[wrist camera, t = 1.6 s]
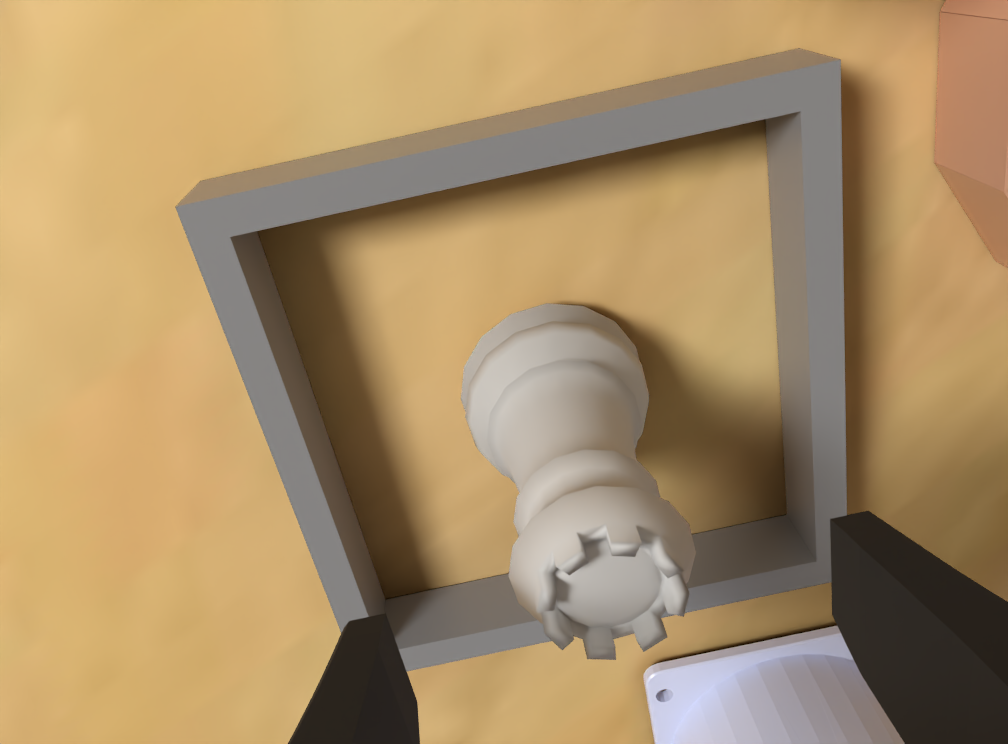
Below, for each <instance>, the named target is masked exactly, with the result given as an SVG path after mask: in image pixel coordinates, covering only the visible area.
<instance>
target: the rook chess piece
mask: <svg viewBox="0 0 1008 744" xmlns="http://www.w3.org/2000/svg"><path fill="white" fill-rule="evenodd" d="M461 401H462V404H463V406H464V409H465V412H466V415H465V417H466V420H467V423H468V426H469V428H470V431H471V434H472V437H473V439H474V442H475V445H476V447H477V448H478V450H479V451H480V452H481V454H482V455H483V456H484V457H485V458H486V459H487V460H488V461H489V462H490V463H491V464H492V465H493V466H494V467H495V468H496V469H497V470H498V471H499V472H500V473H501V474H502V475H504V476H507V477H509V478H510V479H511V480H512V481H513V482H514V483H515V484H516V486H517V488H518V491H519V495H518V497H517V500H516V508H515V515H514V524H515V527H516V530H517V533H518V535H519V537H518V539H517V540H516V542H515V543H514V545H513V547H512V554H511V561H510V569H509V579H510V581H511V584H512V587H513V589H514V592H515V595H516V597H517V600H518V603H519V604H520V605H522V606H523V607H524V608H525V609H526V610H527V611H528V612H529V613H530V614H531V615H532V616H534V617H535V618H536V619H537V620H538V621H539V622H540V623H542V624H543V627H544V633H545V635H546V636H547V637H548V638H550V639H551V640H552V641H553V642H554V643H555V644H556V645H557V646H558V647H559V648H561V649H562V650H563V649H564V648H565V647H566V646H568V645H569V644H570V643H571V642H572V641H573V640H574V638H573V636H575V637H578V638H581V639H583V642H584V646H585V651H586V655H587V659H609V660H616V654H615V644H614V641H613V639H616V638H619V637H623V636H626V635H630V634H634V633H635V636H636V639H637V642H638V643H639V645H640V647H641V648H642V650H643V652H644V651H646V650H647V649H649V648H651V647H652V646H654V645H655V644H657V643H659V642H660V641H662V640H663V639H665V638H667V634H666V631H665V628H664V625H663V622H662V620H661V617H662V615H663V614H664V613H665V612H666V610H667V612H668V614H674V615H679V616H684V614H685V610H686V606H687V602H688V598H689V595H690V593H689V590H688V588H687V585H686V584H687V583H688V581H689V578H690V574H691V570H692V566H693V562H694V558H695V554H696V551H695V547H694V542H693V538H692V534H691V530H690V526H689V524H688V523H687V521H686V520H685V519H684V518H683V517H682V516H681V515H680V514H679V513H678V511H677V510H676V509H675V508H674V507H673V506H672V505H671V504H670V502H669V501H666V500H664V499H662V498H660V495H659V491H658V487H657V483H656V480H655V479H654V478H653V477H652V476H651V474H650V473H649V472H648V471H647V470H646V469H645V468H644V467H643V466H642V464H641V463H640V462H638V461H637V459H636V453H635V448H636V446H637V441H638V440H639V438H640V437H641V435H642V433H643V429H644V424H645V419H646V414H647V409H648V405H649V392H648V388H647V384H646V380H645V375H644V371H643V367H642V364H641V363H640V361H639V356H638V352H637V348H636V346H635V345H634V344H633V343H632V341H631V340H630V339H629V338H628V336H627V335H626V334H625V333H624V332H623V330H622V329H621V328H620V327H619V326H618V324H617V323H616V322H615V321H613V320H611V319H609V318H607V317H605V316H603V315H601V314H599V313H597V312H595V311H593V310H591V309H589V308H587V307H585V306H576V305H562V304H548V303H546V304H543V305H540V306H537V307H533V308H530V309H527V310H523V311H520V312H517V313H513V314H510V315H509V316H508V317H506V318H505V319H504V320H503V321H501V322H500V323H499V324H497V325H496V326H495V327H494V328H492V329H491V330H490V331H488V332H487V333H486V334H485V335H483V336H482V337H481V338H480V340H479V342H478V344H477V345H476V347H475V349H474V351H473V352H472V354H471V356H470V358H469V359H468V361H467V363H466V365H465V366H464V373H463V383H462V394H461Z"/></svg>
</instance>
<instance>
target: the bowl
mask: <svg viewBox="0 0 1008 744" xmlns="http://www.w3.org/2000/svg"><path fill="white" fill-rule="evenodd" d="M934 162H935V164H936V166H937V167H938V169H939V171H940V172H941V174H942V175H943V177H944V179H945V180H946V182H947V184H948V185H949V187H950V188H951V190H952V192H953V193H954V195H955V196H956V198H957V200H958V201H959V203H960V204H961V206H962V208H963V209H964V211H965V212H966V214H967V216H968V217H969V219H970V220H971V222H972V224H973V225H974V227H975V228H976V230H977V232H978V233H979V235H980V237H981V238H982V240H983V241H984V243H985V245H986V246H987V248H988V249H989V251H990V253H991V254H992V256H993V257H994V259H995V261H997V262H998V263H1000V264H1002V265H1004V266H1006V267H1007V268H1008V0H946V1H945V3H944V5H943V7H942V9H941V10H940V22H939V49H938V77H937V104H936V131H935V158H934Z"/></svg>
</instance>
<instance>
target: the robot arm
mask: <svg viewBox="0 0 1008 744" xmlns="http://www.w3.org/2000/svg"><path fill="white" fill-rule="evenodd" d="M830 539H831V581H832V615H833V617H834V619H835V621H836V624H837V626H833V627H828V628H823V629H818V630H813V631H809V632H804V633H799V634H794V635H790V636H785V637H780V638H775V639H770V640H766V641H761V642H756V643H751V644H747V645H742V646H737V647H732V648H727V649H723V650H718V651H713V652H708V653H704V654H699V655H694V656H689V657H684V658H680V659H675V660H670V661H665V662H661V663H657V664H654V665H652V666H650V667H649V668H648V669H647V670H646V671H645V673H644V684H645V690H646V696H647V702H648V707H649V713H650V719H651V725H652V731H653V736H654V742H655V744H1008V602H1007V601H1005V600H1004V599H1002V598H1000V597H999V596H997V595H995V594H994V593H992V592H991V591H989V590H987V589H986V588H984V587H983V586H981V585H979V584H978V583H976V582H975V581H973V580H971V579H970V578H968V577H967V576H965V575H963V574H962V573H960V572H959V571H957V570H956V569H954V568H953V567H951V566H950V565H948V564H947V563H945V562H943V561H942V560H940V559H939V558H937V557H936V556H934V555H933V554H932V553H930V552H929V551H927V550H926V549H924V548H923V547H921V546H920V545H918V544H917V543H915V542H914V541H912V540H911V539H909V538H908V537H906V536H905V535H903V534H902V533H900V532H899V531H897V530H896V529H894V528H893V527H892V526H890V525H889V524H887V523H886V522H884V521H883V520H881V519H880V518H878V517H877V516H875V515H874V514H872V513H871V512H869V511H865V512H860V513H855V514H851V515H846V516H841V517H837V518H832V519H830ZM663 689H667V690H665V691H662V692H659V691H661V690H663ZM288 744H420V738H419V722H418V707H417V700H416V697H415V694H414V692H413V689H412V686H411V683H410V680H409V677H408V675H407V672H406V669H405V666H404V663H403V660H402V658H401V655H400V652H399V649H398V646H397V643H396V641H395V638H394V635H393V632H392V629H391V626H390V624H389V621H388V618H387V615H386V613H384V614H380V615H375V616H370V617H366V618H361V619H356V620H351V621H349V622H348V623H347V624H346V626H345V627H344V629H343V631H342V633H341V636H340V638H339V640H338V643H337V645H336V647H335V649H334V652H333V654H332V656H331V658H330V660H329V663H328V665H327V667H326V669H325V671H324V673H323V676H322V678H321V680H320V682H319V684H318V686H317V688H316V690H315V692H314V694H313V696H312V698H311V700H310V702H309V704H308V706H307V708H306V710H305V712H304V714H303V716H302V718H301V720H300V722H299V724H298V726H297V728H296V730H295V731H294V733H293V735H292V737H291V739H290V741H289V743H288Z"/></svg>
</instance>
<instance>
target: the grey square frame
mask: <svg viewBox="0 0 1008 744" xmlns="http://www.w3.org/2000/svg"><path fill="white" fill-rule="evenodd" d="M763 119H765V122H766V140H767V158H768V176H769V195H770V213H771V231H772V249H773V268H774V286H775V304H776V322H777V340H778V359H779V377H780V395H781V413H782V432H783V450H784V468H785V486H786V505H787V515H783V516H778V517H773V518H769V519H764V520H759V521H754V522H750V523H745V524H740V525H736V526H731V527H726V528H721V529H717V530H712V531H707V532H702V533H698V534H693V535H692V538H693V542H694V547H695V551H696V554H695V558H694V562H693V566H692V570H691V574H690V578H689V581H688V583H687V584H686V585H687V588H688V590H689V593H690V595H689V598H688V602H687V606H686V610H685V613H687V612H692V611H696V610H701V609H706V608H711V607H715V606H720V605H725V604H730V603H734V602H739V601H744V600H749V599H753V598H758V597H763V596H768V595H772V594H777V593H782V592H787V591H792V590H796V589H801V588H806V587H811V586H815V585H820V584H825V583H830V582H832V581H831V539H830V519H832V518H837V517H841V516H846V515H847V481H846V410H845V338H844V267H843V196H842V125H841V60H840V59H837V58H833V57H829V56H826V55H822V54H818V53H815V52H811V51H807V50H804V49H800V48H798V49H794V50H789V51H785V52H780V53H776V54H771V55H767V56H762V57H758V58H753V59H749V60H744V61H740V62H735V63H731V64H726V65H722V66H717V67H713V68H708V69H704V70H699V71H695V72H690V73H686V74H681V75H676V76H672V77H667V78H663V79H658V80H654V81H649V82H645V83H640V84H636V85H631V86H627V87H622V88H618V89H613V90H609V91H604V92H600V93H595V94H591V95H586V96H582V97H577V98H573V99H568V100H564V101H559V102H555V103H550V104H546V105H541V106H537V107H532V108H528V109H523V110H519V111H514V112H510V113H505V114H501V115H496V116H492V117H487V118H483V119H478V120H474V121H469V122H465V123H460V124H455V125H451V126H446V127H442V128H437V129H433V130H428V131H424V132H419V133H415V134H410V135H406V136H401V137H397V138H392V139H388V140H383V141H379V142H374V143H370V144H365V145H361V146H356V147H352V148H347V149H343V150H338V151H334V152H329V153H325V154H320V155H316V156H311V157H307V158H302V159H298V160H293V161H289V162H284V163H280V164H275V165H271V166H266V167H262V168H257V169H253V170H248V171H243V172H239V173H234V174H230V175H225V176H221V177H216V178H212V179H207V180H203V181H200V182H199V183H198V184H197V185H196V186H195V187H194V188H193V189H192V190H191V191H190V192H189V193H188V194H187V195H186V196H185V197H184V198H183V199H182V200H181V201H180V202H179V204H178V205H177V206H176V210H177V212H178V215H179V218H180V220H181V223H182V225H183V228H184V230H185V233H186V235H187V238H188V241H189V243H190V246H191V248H192V251H193V253H194V256H195V259H196V261H197V264H198V266H199V269H200V271H201V274H202V277H203V279H204V282H205V284H206V287H207V289H208V292H209V294H210V297H211V300H212V302H213V305H214V307H215V310H216V312H217V315H218V318H219V320H220V323H221V325H222V328H223V330H224V333H225V336H226V338H227V341H228V343H229V346H230V348H231V351H232V354H233V356H234V359H235V361H236V364H237V366H238V369H239V371H240V374H241V377H242V379H243V382H244V384H245V387H246V389H247V392H248V395H249V397H250V400H251V402H252V405H253V407H254V410H255V413H256V415H257V418H258V420H259V423H260V425H261V428H262V430H263V433H264V436H265V438H266V441H267V443H268V446H269V448H270V451H271V454H272V456H273V459H274V461H275V464H276V466H277V469H278V472H279V474H280V477H281V479H282V482H283V484H284V487H285V490H286V492H287V495H288V497H289V500H290V502H291V505H292V507H293V510H294V513H295V515H296V518H297V520H298V523H299V525H300V528H301V531H302V533H303V536H304V538H305V541H306V543H307V546H308V549H309V551H310V554H311V556H312V559H313V561H314V564H315V566H316V569H317V572H318V574H319V577H320V579H321V582H322V584H323V587H324V590H325V592H326V595H327V597H328V600H329V602H330V605H331V608H332V610H333V613H334V615H335V618H336V620H337V623H338V626H339V628H340V631H341V633H342V631H343V629H344V627H345V626H346V624H347V623H348V622H349V621H351V620H356V619H361V618H366V617H370V616H375V615H380V614H384V613H386V615H387V618H388V621H389V624H390V626H391V629H392V632H393V635H394V638H395V641H396V643H397V646H398V649H399V652H400V655H401V658H402V660H403V663H404V666H405V669H406V671H411V670H416V669H420V668H425V667H430V666H435V665H439V664H444V663H449V662H454V661H458V660H463V659H468V658H473V657H478V656H482V655H487V654H492V653H497V652H501V651H506V650H511V649H516V648H520V647H525V646H530V645H535V644H539V643H544V642H549V641H552V640H551V639H550V638H548V637H547V636H546V635H545V633H544V627H543V624H542V623H540V622H539V621H538V620H537V619H536V618H535V617H534V616H532V615H531V614H530V613H529V612H528V611H527V610H526V609H525V608H524V607H523V606H522V605H520V604H519V603H518V600H517V597H516V595H515V592H514V589H513V587H512V584H511V581H510V579H509V574H504V575H499V576H495V577H490V578H485V579H481V580H476V581H471V582H466V583H462V584H457V585H452V586H448V587H443V588H438V589H433V590H429V591H424V592H419V593H414V594H410V595H405V596H400V597H396V598H391V599H386V600H385V597H384V594H383V591H382V589H381V586H380V583H379V580H378V577H377V574H376V571H375V569H374V566H373V563H372V560H371V557H370V554H369V551H368V548H367V546H366V543H365V540H364V537H363V534H362V531H361V528H360V526H359V523H358V520H357V517H356V514H355V511H354V508H353V505H352V503H351V500H350V497H349V494H348V491H347V488H346V485H345V482H344V480H343V477H342V474H341V471H340V468H339V465H338V462H337V460H336V457H335V454H334V451H333V448H332V445H331V442H330V439H329V437H328V434H327V431H326V428H325V425H324V422H323V419H322V416H321V414H320V411H319V408H318V405H317V402H316V399H315V396H314V394H313V391H312V388H311V385H310V382H309V379H308V376H307V373H306V371H305V368H304V365H303V362H302V359H301V356H300V353H299V350H298V348H297V345H296V342H295V339H294V336H293V333H292V330H291V328H290V325H289V322H288V319H287V316H286V313H285V310H284V307H283V305H282V302H281V299H280V296H279V293H278V290H277V287H276V285H275V282H274V279H273V276H272V273H271V270H270V267H269V264H268V262H267V259H266V256H265V253H264V250H263V247H262V244H261V241H260V239H259V236H258V233H257V231H260V230H264V229H269V228H273V227H278V226H282V225H287V224H291V223H296V222H300V221H305V220H310V219H314V218H319V217H323V216H328V215H332V214H337V213H341V212H346V211H350V210H355V209H359V208H364V207H369V206H373V205H378V204H382V203H387V202H391V201H396V200H400V199H405V198H409V197H414V196H418V195H423V194H428V193H432V192H437V191H441V190H446V189H450V188H455V187H459V186H464V185H468V184H473V183H477V182H482V181H487V180H491V179H496V178H500V177H505V176H509V175H514V174H518V173H523V172H527V171H532V170H536V169H541V168H546V167H550V166H555V165H559V164H564V163H568V162H573V161H577V160H582V159H586V158H591V157H595V156H600V155H605V154H609V153H614V152H618V151H623V150H627V149H632V148H636V147H641V146H645V145H650V144H654V143H659V142H664V141H668V140H673V139H677V138H682V137H686V136H691V135H695V134H700V133H704V132H709V131H713V130H718V129H723V128H727V127H732V126H736V125H741V124H745V123H750V122H754V121H759V120H763ZM673 615H674V614H668V612H667V610H666V612H665V613H664V614H663V615H662V617H661V618H663V617H668V616H673Z"/></svg>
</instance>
